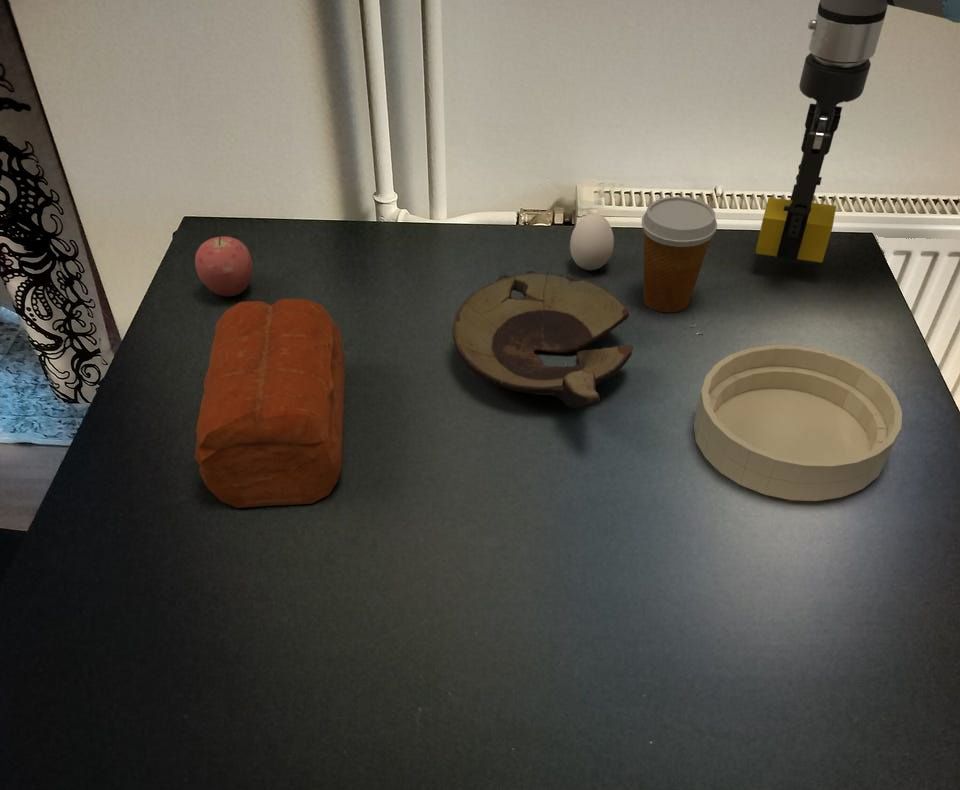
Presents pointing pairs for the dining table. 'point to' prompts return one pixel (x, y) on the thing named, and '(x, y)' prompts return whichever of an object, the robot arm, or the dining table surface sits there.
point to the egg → (592, 242)
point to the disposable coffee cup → (674, 250)
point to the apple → (224, 265)
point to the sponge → (813, 235)
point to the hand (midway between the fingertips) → (789, 245)
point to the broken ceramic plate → (541, 335)
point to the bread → (273, 405)
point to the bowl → (796, 422)
